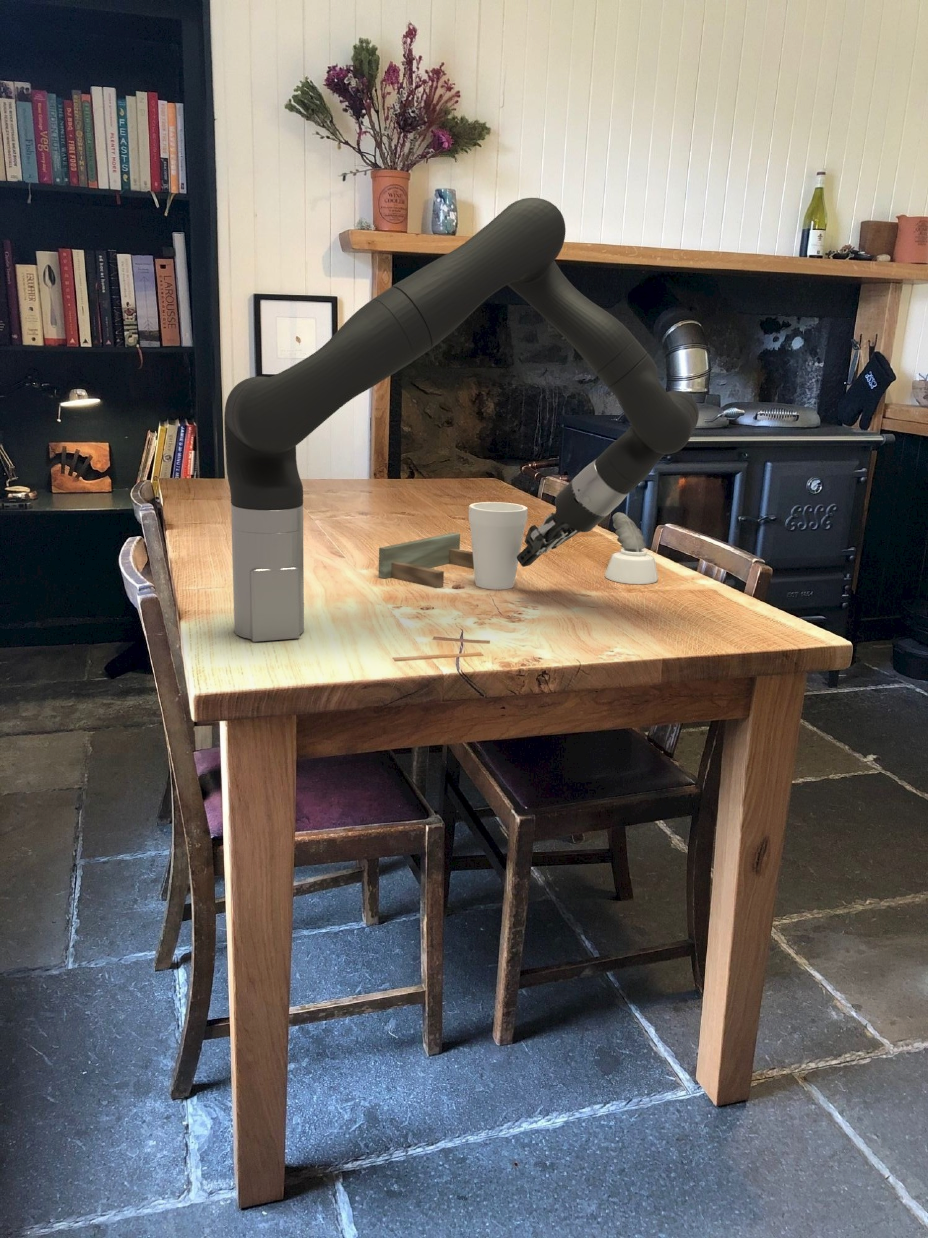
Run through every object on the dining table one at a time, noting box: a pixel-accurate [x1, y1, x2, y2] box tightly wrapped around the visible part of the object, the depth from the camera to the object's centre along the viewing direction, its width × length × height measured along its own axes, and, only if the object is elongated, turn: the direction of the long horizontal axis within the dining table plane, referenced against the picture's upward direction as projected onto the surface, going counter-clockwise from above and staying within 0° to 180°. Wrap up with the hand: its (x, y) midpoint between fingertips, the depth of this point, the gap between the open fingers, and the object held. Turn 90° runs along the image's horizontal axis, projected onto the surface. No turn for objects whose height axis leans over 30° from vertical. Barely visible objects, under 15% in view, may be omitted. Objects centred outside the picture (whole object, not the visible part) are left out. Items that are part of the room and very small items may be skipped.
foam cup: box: [468, 501, 528, 591], centre depth 160 cm, size 10×9×13 cm
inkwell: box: [604, 511, 659, 585], centre depth 173 cm, size 9×18×10 cm, turn 11°
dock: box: [378, 532, 474, 589], centre depth 168 cm, size 12×20×5 cm, turn 142°
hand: (522, 561), depth 158 cm, fingers closed
